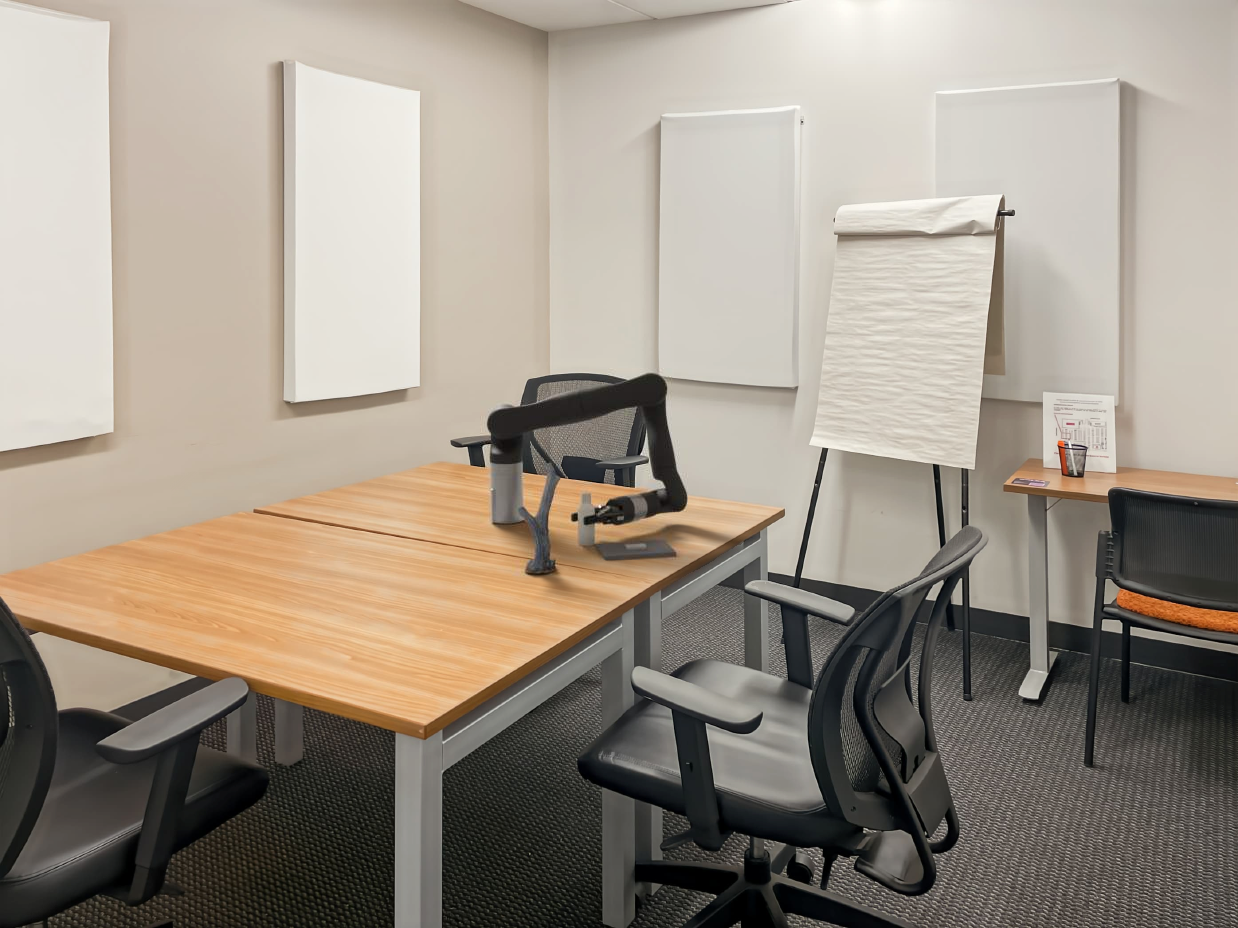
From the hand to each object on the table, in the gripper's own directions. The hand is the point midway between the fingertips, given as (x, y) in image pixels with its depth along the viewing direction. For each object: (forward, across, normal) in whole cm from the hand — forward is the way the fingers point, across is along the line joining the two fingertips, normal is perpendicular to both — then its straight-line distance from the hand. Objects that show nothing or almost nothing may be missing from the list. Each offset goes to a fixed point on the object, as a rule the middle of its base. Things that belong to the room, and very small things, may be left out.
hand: (578, 519), depth 250 cm
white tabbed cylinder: (-3, 0, +7) cm, 8 cm away
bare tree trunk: (+20, +10, +7) cm, 23 cm away
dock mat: (-7, +14, +7) cm, 17 cm away
